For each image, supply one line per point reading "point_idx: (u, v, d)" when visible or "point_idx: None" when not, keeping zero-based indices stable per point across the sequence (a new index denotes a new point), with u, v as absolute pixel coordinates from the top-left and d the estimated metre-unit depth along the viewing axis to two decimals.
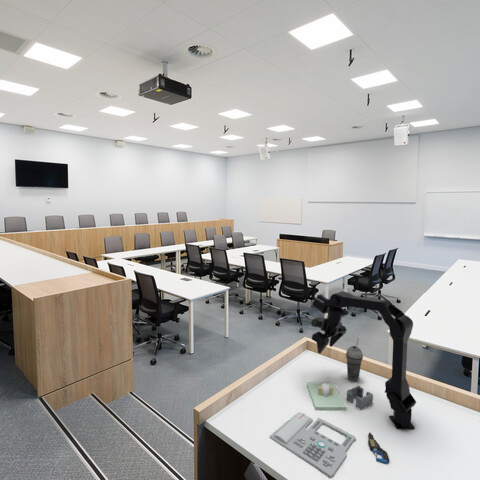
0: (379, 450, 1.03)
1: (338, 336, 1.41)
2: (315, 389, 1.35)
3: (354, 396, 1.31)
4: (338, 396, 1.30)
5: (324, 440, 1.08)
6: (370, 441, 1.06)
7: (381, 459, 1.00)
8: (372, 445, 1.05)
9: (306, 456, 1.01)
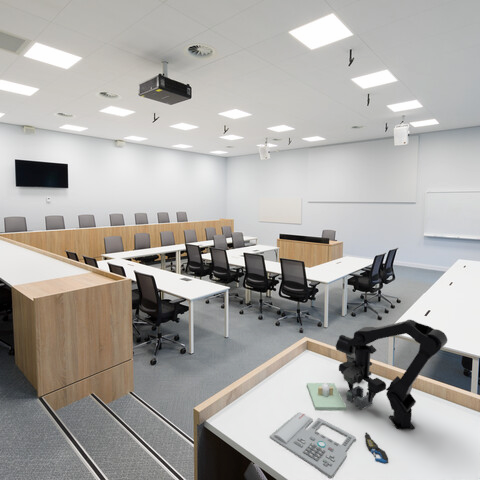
0: (377, 450, 1.04)
1: None
2: (315, 389, 1.35)
3: (354, 396, 1.31)
4: (338, 396, 1.30)
5: (324, 440, 1.08)
6: (368, 441, 1.06)
7: (380, 459, 1.00)
8: (370, 445, 1.05)
9: (306, 456, 1.01)
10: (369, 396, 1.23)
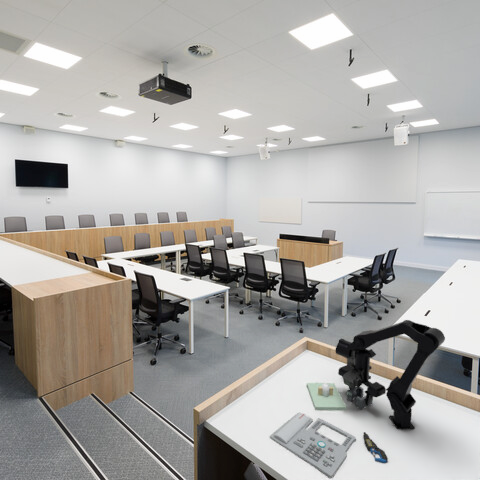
0: (376, 449, 1.04)
1: None
2: (315, 389, 1.35)
3: (354, 396, 1.31)
4: (338, 396, 1.30)
5: (324, 440, 1.08)
6: (367, 441, 1.06)
7: (380, 459, 1.00)
8: (369, 445, 1.05)
9: (306, 456, 1.01)
10: (367, 399, 1.24)
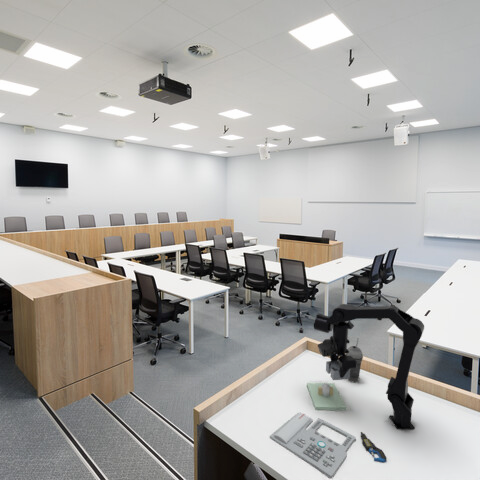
0: (374, 449, 1.04)
1: None
2: (315, 389, 1.35)
3: (334, 369, 1.32)
4: (338, 396, 1.30)
5: (324, 440, 1.08)
6: (365, 441, 1.06)
7: (379, 458, 1.00)
8: (367, 445, 1.05)
9: (306, 456, 1.01)
10: (340, 371, 1.25)
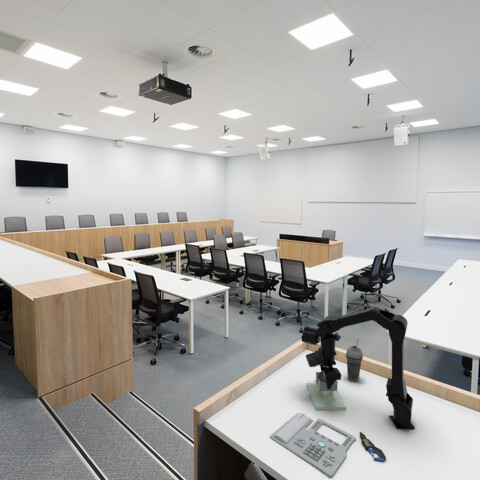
0: (374, 449, 1.04)
1: None
2: (315, 389, 1.35)
3: (324, 380, 1.33)
4: (338, 396, 1.30)
5: (324, 440, 1.08)
6: (364, 441, 1.07)
7: (379, 458, 1.00)
8: (367, 445, 1.05)
9: (306, 456, 1.01)
10: (326, 382, 1.26)
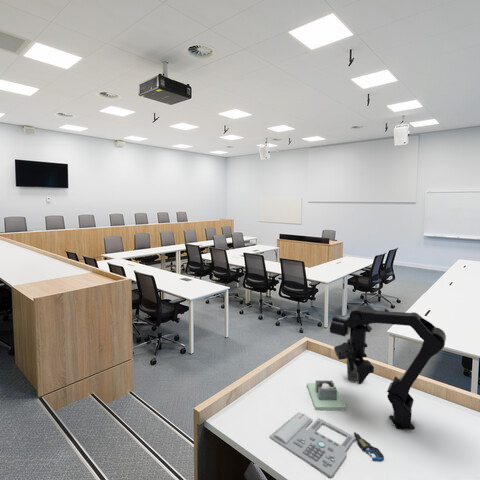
0: (370, 448, 1.04)
1: None
2: None
3: None
4: (338, 396, 1.30)
5: (324, 440, 1.08)
6: (360, 441, 1.06)
7: (377, 457, 1.01)
8: (364, 445, 1.05)
9: (306, 456, 1.01)
10: (357, 377, 1.20)
